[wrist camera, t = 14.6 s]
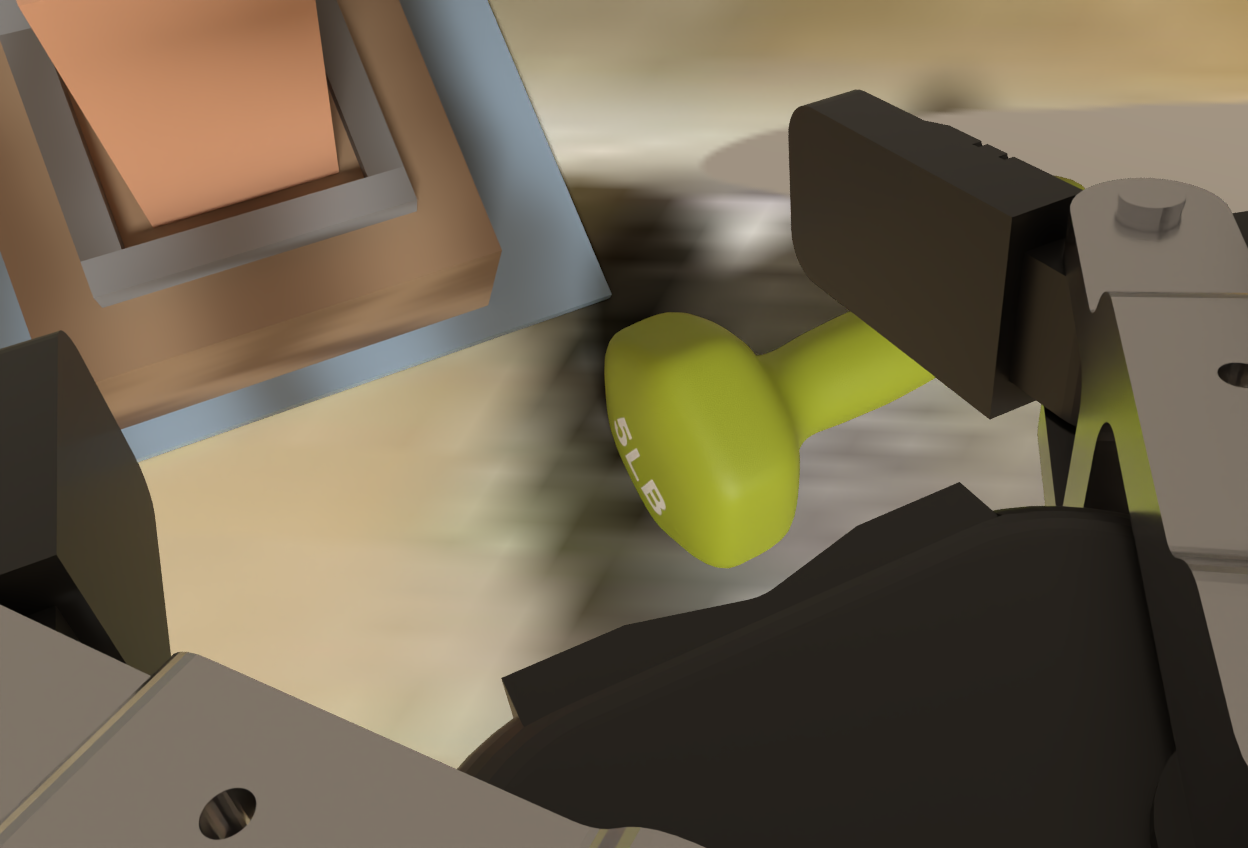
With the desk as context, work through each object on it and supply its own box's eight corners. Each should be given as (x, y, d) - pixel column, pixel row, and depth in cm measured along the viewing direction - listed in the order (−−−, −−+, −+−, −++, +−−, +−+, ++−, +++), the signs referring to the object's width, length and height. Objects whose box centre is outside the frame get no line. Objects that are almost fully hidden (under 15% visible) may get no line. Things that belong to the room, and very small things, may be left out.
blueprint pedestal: (457, -63, 37) (467, -199, 31) (609, 298, 35) (651, 228, 29) (-169, 86, 32) (-302, -42, 26) (-22, 517, 30) (-127, 487, 24)
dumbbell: (666, 591, 34) (732, 579, 27) (562, 370, 35) (602, 303, 28) (1059, 397, 38) (1204, 344, 31) (960, 205, 39) (1079, 111, 32)
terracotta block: (274, 12, 29) (211, -293, 20) (339, 172, 29) (306, -62, 19) (89, 60, 28) (-76, -244, 18) (153, 228, 27) (18, 5, 18)
